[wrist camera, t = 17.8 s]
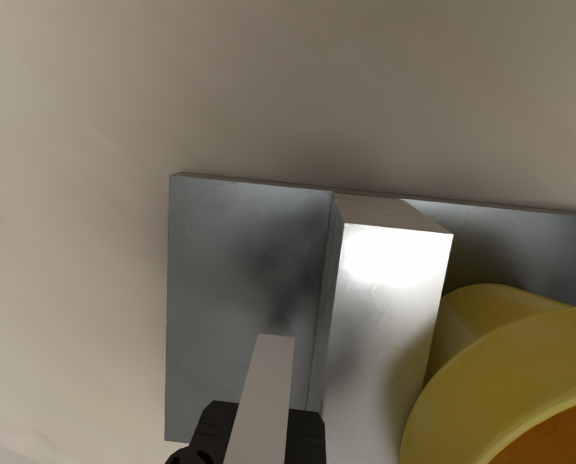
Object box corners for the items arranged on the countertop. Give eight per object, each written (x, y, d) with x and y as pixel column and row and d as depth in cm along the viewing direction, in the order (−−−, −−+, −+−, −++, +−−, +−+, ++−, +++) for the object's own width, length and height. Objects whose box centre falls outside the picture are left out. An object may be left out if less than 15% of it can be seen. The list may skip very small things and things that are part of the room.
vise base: (180, 172, 19) (96, 195, 11) (697, 224, 18) (964, 285, 11) (174, 420, 22) (106, 560, 15) (607, 473, 21) (762, 649, 14)
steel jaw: (332, 192, 17) (344, 223, 11) (403, 199, 17) (453, 234, 11) (299, 462, 20) (295, 595, 14) (358, 469, 20) (377, 606, 14)
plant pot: (363, 247, 17) (424, 380, 8) (607, 231, 17) (999, 358, 7) (371, 442, 20) (426, 722, 10) (584, 436, 19) (856, 734, 10)
